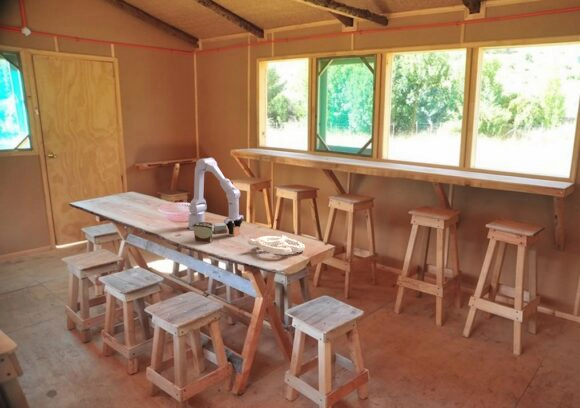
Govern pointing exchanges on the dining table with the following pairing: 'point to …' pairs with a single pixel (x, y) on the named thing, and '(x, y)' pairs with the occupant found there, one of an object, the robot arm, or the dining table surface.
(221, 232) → the bottom slab
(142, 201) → the dining table surface
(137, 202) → the dining table surface
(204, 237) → the food container
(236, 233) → the peach foam cube
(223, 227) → the top slab
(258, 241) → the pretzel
